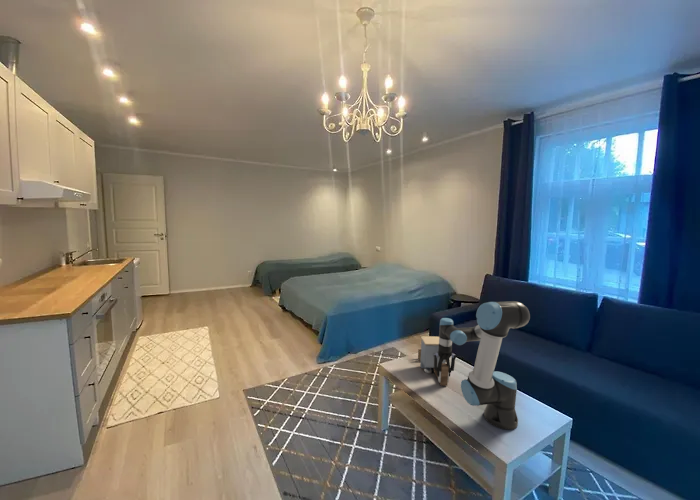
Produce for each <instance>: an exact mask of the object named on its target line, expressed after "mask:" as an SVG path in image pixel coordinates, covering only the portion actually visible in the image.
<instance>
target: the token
mask: <svg viewBox="0 0 700 500" xmlns="http://www.w3.org/2000/svg"><path fill="white" fill-rule="evenodd" d="M423 372H424V373H426V374H432V373H433V368H423Z"/></svg>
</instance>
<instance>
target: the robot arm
mask: <svg viewBox="0 0 700 500" xmlns="http://www.w3.org/2000/svg"><path fill="white" fill-rule="evenodd" d="M475 318H476V323H477V325H474V326H473V327H471V326H470V327H458V328H457V327H456V326H454V320H453V319H452V318H449V317H442V318H441V319H440V320H439V331H438V333H439V334H438V337H439V347H438V352H437V353H436V354H435V353H434V354H433V356H434V369H435V371H437V376H438V378H437V381H438V383H439V382H441V371H440V369H441V365H442V362H443V360H446V362H445V363H446V364H447V365H448V382H449V380H450V377H451V374H452V372H454V370H455V363H456V358H457V355H456V354H455V353H453V352H452V350H453V344H455V345H456V346H462V345H464V344H466V343H467V342H468V343H469V342H479V345H478V349H477V352H476V358H475V360H474V366H473V368H472V370H471V371H470V372H469V373H468V375H467V379H466V378H465V379H462V380H461V381H460V390H461V393H462V396H463V398H464V400H465V401H466V402H467V404H468V405H470V406H472V407H473V406H477V407H478V406H485V405H486V406H485V408H484V412H483V416H484V418H485V420H486V421H487V422H488V423H489V424H491V425H492V426H493V427H496V428H499V429H502V430H510V431H511V430H515V429H517V427H518V425H519V417H518V415H517V411H516V400H517V392H518V391H517V390H518V388H517V385H518V384H517V380H516V379H515V378H514V377H513V376H511V375H509V374H507V373H505V372H502V371H495V368H496V366H497V360H498V357H499V354H500V353H499V352H500V349H501V346H502V342H503V338H506V337H507V336H508V335H509V331H510V329H513V330H514V329H519V328H522V327H525V326H526V325H528V323H529V321H530V319H531V314H530V311H529V308H528V307H527V306H526V305H524V303H522V302H519V301H515V300H511V301H509V300H508V301H488V302H484V303H481V304H480V305H479V307H478V308H477V310H476V314H475ZM438 355H439V362H438V366H437V357H438ZM450 358H451V361H450ZM437 376H436V377H437Z"/></svg>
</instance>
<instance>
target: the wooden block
mask: <svg viewBox="0 0 700 500" xmlns="http://www.w3.org/2000/svg"><path fill="white" fill-rule="evenodd" d="M440 371H441V382H439V381H438V383H439V386H441V387H442V386H445V387H446V386H448V383H449V381H448V365H447V362H445V363H442V365H441V369H440ZM432 372H434V374H435V377H436V378H437V379H438V376H437V371H435V369H434V368H432Z"/></svg>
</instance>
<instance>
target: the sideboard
mask: <svg viewBox="0 0 700 500" xmlns="http://www.w3.org/2000/svg"><path fill="white" fill-rule="evenodd" d="M420 339H421V345H420V349H421V361H419V362H420V365H419V366H420V369H424V368H431V369H433V368H434V356H433V354H434V353H435V354H436V353H437V352H438V347H439V336H434V335H433V336H432V335H431V336H430V335H429V336H426V335H425V336H423V335H422V336H420ZM438 362H439V355H438V357H437V366H438ZM442 363H446V362H445V360H443V362H442Z"/></svg>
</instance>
